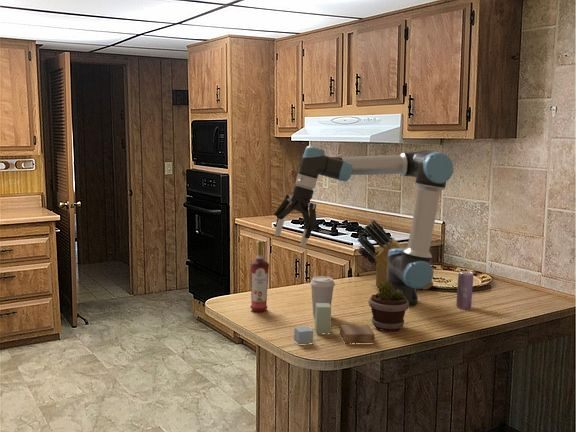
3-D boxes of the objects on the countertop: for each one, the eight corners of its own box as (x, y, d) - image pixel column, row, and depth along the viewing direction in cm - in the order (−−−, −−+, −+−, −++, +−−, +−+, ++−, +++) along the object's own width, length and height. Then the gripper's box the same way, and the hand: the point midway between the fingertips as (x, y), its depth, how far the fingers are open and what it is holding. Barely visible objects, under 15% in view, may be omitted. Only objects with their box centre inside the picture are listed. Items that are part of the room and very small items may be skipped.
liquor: (250, 313, 247) (251, 242, 243) (248, 307, 254) (249, 239, 250) (269, 312, 248) (270, 242, 244) (266, 307, 255) (268, 239, 251)
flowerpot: (380, 318, 245) (382, 268, 242) (415, 327, 235) (418, 275, 232) (359, 327, 233) (361, 274, 230) (395, 337, 224) (398, 282, 221)
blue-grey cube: (307, 339, 219) (307, 326, 218) (312, 344, 214) (313, 330, 214) (293, 341, 217) (294, 327, 217) (299, 346, 213) (299, 331, 212)
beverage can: (472, 306, 263) (474, 271, 261) (469, 310, 258) (472, 274, 256) (457, 304, 266) (459, 270, 264) (454, 308, 260) (457, 273, 258)
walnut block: (367, 335, 226) (367, 324, 225) (374, 345, 216) (374, 334, 215) (339, 335, 225) (340, 325, 224) (345, 345, 215) (345, 334, 214)
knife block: (356, 280, 303) (358, 216, 298) (431, 284, 298) (435, 220, 293) (355, 286, 291) (358, 220, 287) (433, 291, 287) (437, 223, 282)
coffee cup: (316, 321, 239) (318, 283, 237) (304, 314, 247) (305, 277, 245) (338, 318, 243) (339, 280, 241) (325, 311, 252) (326, 274, 249)
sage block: (328, 329, 230) (329, 303, 228) (330, 334, 225) (331, 307, 224) (314, 329, 230) (315, 303, 228) (316, 334, 225) (317, 307, 223)
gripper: (274, 178, 244) (260, 230, 246) (323, 193, 228) (307, 249, 230) (287, 180, 250) (273, 232, 252) (335, 196, 234) (320, 251, 236)
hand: (289, 240), depth 241 cm, fingers open, 13 cm apart
